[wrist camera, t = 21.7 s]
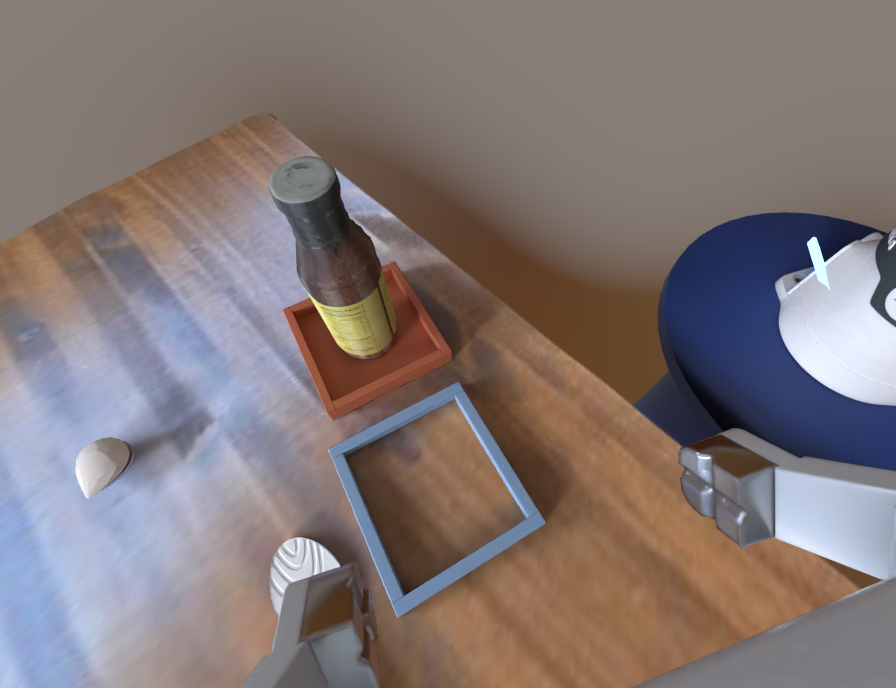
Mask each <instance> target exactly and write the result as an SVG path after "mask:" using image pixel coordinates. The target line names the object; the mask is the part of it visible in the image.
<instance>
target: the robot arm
mask: <svg viewBox="0 0 896 688" xmlns="http://www.w3.org/2000/svg"><path fill="white" fill-rule="evenodd" d="M807 244H808V248H809V251H810V254H811V257H812V261H813V264H814V266H813V267H810V268H807V269H803V270H800V271H797V272H793V273H790V274H787V275H784V276H782V277H781V278H780V279H778V280H777V281H776V282H775V289H776V292H777V295H778V297H779V300H780V312H779V329H780V333H781V336H782V339H783V341H784V343H785V345H786V347H787V349H788V350H789V352H790V353H791V355H792V356H793V358H794V359H795V360H796V361H797V362H798V364H799V365H800V366H801V367H802V368H803V369H804V370H805V371H806V372H808V373H809V374H810V375H811V376H812V377H814V378H815V379H816V380H818V381H819V382H820V383H822V384H823V385H825V386H827V387H828V388H830V389H832V390H834V391H835V392H837V393H840V394H842V395H844V396H846V397H849V398H852V399H854V400H858V401H861V402H865V403H870V404H877V405H890V406H896V226H895V227H894V228H893V229H892V231H890V232H889V233H888V234H887V235H885V236H882V235H881V234H880V233H877V232H875V233H872V234H870V235H868V236H867V237H865V238H863V239H862V240H856V241H854V242H852V243H851V244H849V245H847V246H846V247H844V248H843V249H841V250H840V251H839V252H837V253H836V254H835V255H834V256H832V257H831V258H830V259H829V260H827V261H826V262H825V263H824V260H823V257H822V254H821V251H820V248H819V245H818V242H817V239H816V238H815V237H813V238H812V239H811V240H810V241H809V242H808V243H807ZM678 457H679V464H681V465H682V466H683V467H684V468H685V470H684V472H683V474H682V476H681V478H680V481H681V488H682V492H683V494H684V496H685V498H686V500H687V501H688V503H689V504H690V505H691V506H692V508H693V509H694V510H696V511H697V512H698V513H699V514H700V515H701V516H704V517H708V518H711V519H714V520H715V522H716V526H717V529H718V530H720V531H721V532H722V533H723V534H725V535H726V536H727V537H728V538H730V539H731V540H732V541H733V542H735V543H736V544H737V545H738V546H739V547H741V548H743V547H746V546H749V545H751V544H754V543H757V542H760V541H763V540H765V539H768V538H771V537H774V536H775V538H776V539H779V540H781V541H784V542H787V543H789V544H792V545H794V546H797V547H800V548H802V549H805V550H807V551H810V552H812V553H815V554H818V555H820V556H823V557H825V558H828V559H831V560H833V561H836V562H838V563H841V564H843V565H846V566H849V567H851V568H854V569H856V570H859V571H861V572H864V573H867V574H869V575H872V576H874V577H877V578H879V579H882V580H883V581H880V582H878V583H876V584H873V585H871V586H868V587H866V588H864V589H861V590H859V591H857V592H854V593H852V594H850V595H847V596H845V597H843V598H840V599H838V600H835V601H833V602H831V603H828V604H826V605H824V606H821V607H819V608H817V609H814V610H812V611H810V612H807V613H805V614H803V615H800V616H798V617H796V618H793V619H791V620H789V621H786V622H784V623H782V624H779V625H777V626H775V627H772V628H770V629H768V630H765V631H763V632H761V633H758V634H756V635H753V636H751V637H749V638H746V639H744V640H742V641H739V642H737V643H735V644H732V645H730V646H728V647H725V648H723V649H721V650H718V651H716V652H714V653H711V654H709V655H707V656H704V657H702V658H700V659H697V660H695V661H692V662H690V663H688V664H685V665H683V666H681V667H678V668H676V669H674V670H671V671H669V672H667V673H664V674H662V675H659V676H657V677H655V678H652V679H650V680H648V681H645V682H643V683H641V684H638V685H636V686H634V687H631V688H896V471H890V470H884V469H878V468H872V467H865V466H859V465H853V464H847V463H841V462H835V461H829V460H823V459H817V458H811V457H803V458H798V457H796V456H794V455H792V454H790V453H788V452H786V451H784V450H782V449H780V448H778V447H776V446H774V445H772V444H770V443H768V442H766V441H764V440H762V439H760V438H758V437H756V436H754V435H752V434H750V433H748V432H746V431H744V430H742V429H737V428H733V429H730V430H728V431H725V432H722V433H720V434H717V435H716V436H713V437H710V438H707V439H705V440H702V441H699V442H696V443H693V444H691V445H688V446H685V447H682V448H680V451H679V453H678ZM377 638H378V635H377V622H376V616H375V610H374V606H373V602H372V599H371V596H370V593H369V590H367V589H365V588H363V575H362V572H361V570H360V567H359V565H358V563H356V562H353V563H350V564H347V565H344V566H340V567H337V568H334V569H331V570H328V571H325V572H322V573H319V574H316V575H313V576H311V577H308V578H305V579H302V580H299V581H296V582H293V583H289V585H288V586H287V587H286V589H285V592H284V597H283V601H282V606H281V611H280V615H279V620H278V624H277V629H276V634H275V638H274V643H273V648H272V652H271V654H269V655H266V656H264V657H263V658H262V660H261V661H260V662H259V664H258V665H257V666H256V667H255V669H254V670H253V671H252V673H251V674H250V675H249V677H248V678H247V679H246V681H245V682H244V683H243V685H242V686H241V687H240V688H380V684H379V658H378V655H377V652H376V650H375V647H374V643H375V641H376V640H377Z"/></svg>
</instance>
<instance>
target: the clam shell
mask: <svg viewBox="0 0 896 688" xmlns="http://www.w3.org/2000/svg"><path fill="white" fill-rule="evenodd" d="M133 459H134V450H133V448H132V447H131V445H130V444H128V443H127V442H124V441H121V440H120V439H116V438H112V437H110V438H102V439H99V440H97V441H94V442H92V443H90V444H88V445H87V446H86V447H85V448H84V449H83V450H81V452H80V454H79V455H78V457H77V461H76V475H77V478H78V482H79V484H80V486H81V488H82V490H83V492H84V494H85V496H86V497H87V498H91V497H93V496H94V495H96V494H97V493H99V492H100V491H102V490H104V489H105V488H107V487H108V486H110V485H111V484H112V483H114V482H115V481H116V480H118V479H119V478H120V477H121V476H122V475H123V474H124V473H125V472H126V471H127V470H128V468H129V467H130V466H131V464H132V462H133Z"/></svg>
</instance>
